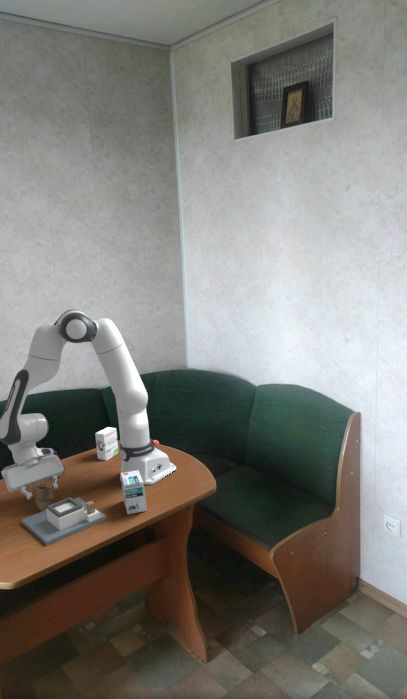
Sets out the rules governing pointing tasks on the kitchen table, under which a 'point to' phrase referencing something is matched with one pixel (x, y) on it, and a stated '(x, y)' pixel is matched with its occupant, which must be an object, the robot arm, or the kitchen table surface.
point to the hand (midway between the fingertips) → (43, 493)
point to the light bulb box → (133, 492)
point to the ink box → (106, 443)
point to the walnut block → (43, 496)
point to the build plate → (53, 531)
